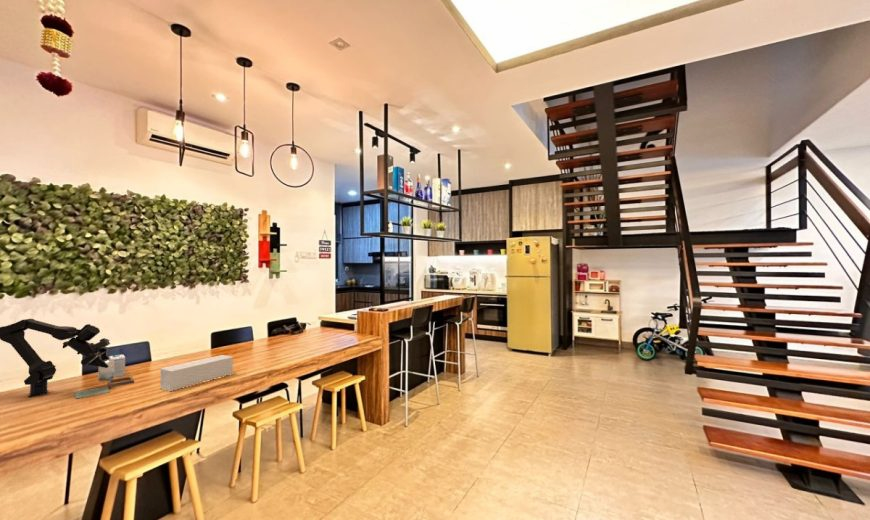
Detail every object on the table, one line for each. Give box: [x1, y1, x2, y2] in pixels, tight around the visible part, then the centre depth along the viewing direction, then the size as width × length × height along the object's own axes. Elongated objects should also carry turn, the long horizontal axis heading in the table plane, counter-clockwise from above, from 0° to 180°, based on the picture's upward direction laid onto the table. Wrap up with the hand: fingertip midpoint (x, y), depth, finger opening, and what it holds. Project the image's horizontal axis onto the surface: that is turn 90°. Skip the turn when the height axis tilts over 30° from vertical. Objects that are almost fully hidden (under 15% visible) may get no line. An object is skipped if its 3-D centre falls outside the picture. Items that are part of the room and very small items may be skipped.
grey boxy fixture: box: [108, 353, 126, 378], centre depth 205 cm, size 11×7×11 cm, turn 47°
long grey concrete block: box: [159, 354, 234, 392], centre depth 193 cm, size 32×11×11 cm, turn 151°
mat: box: [74, 385, 110, 400], centre depth 175 cm, size 12×12×1 cm
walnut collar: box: [107, 376, 135, 388], centre depth 190 cm, size 10×10×2 cm
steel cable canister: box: [97, 359, 115, 382], centre depth 181 cm, size 6×6×10 cm
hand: (109, 365), depth 182 cm, fingers closed on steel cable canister, 6 cm apart
